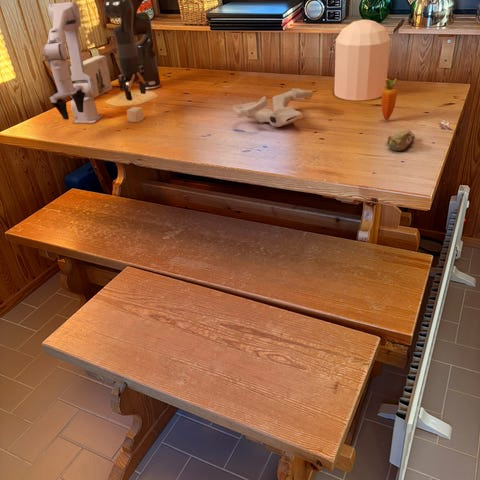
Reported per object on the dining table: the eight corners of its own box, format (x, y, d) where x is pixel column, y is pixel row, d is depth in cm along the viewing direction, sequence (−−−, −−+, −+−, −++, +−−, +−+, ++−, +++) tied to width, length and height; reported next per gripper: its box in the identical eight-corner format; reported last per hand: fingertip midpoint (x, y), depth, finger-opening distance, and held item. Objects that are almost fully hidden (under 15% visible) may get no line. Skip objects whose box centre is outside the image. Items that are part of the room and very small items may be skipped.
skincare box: (87, 102, 214) (77, 67, 204) (78, 102, 215) (68, 66, 206) (113, 88, 229) (105, 54, 220) (104, 88, 231) (96, 54, 222)
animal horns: (230, 133, 167) (227, 101, 161) (244, 110, 188) (241, 81, 182) (308, 133, 161) (308, 99, 155) (313, 109, 182) (314, 78, 176)
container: (354, 104, 182) (359, 27, 166) (324, 91, 198) (325, 20, 182) (396, 93, 189) (404, 18, 173) (363, 81, 205) (368, 12, 189)
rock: (408, 140, 153) (379, 139, 152) (414, 122, 149) (384, 120, 148) (421, 154, 144) (391, 153, 143) (428, 135, 140) (396, 133, 139)
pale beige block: (128, 121, 188) (126, 110, 186) (135, 117, 192) (133, 106, 189) (137, 122, 186) (135, 111, 184) (144, 118, 190) (142, 107, 187)
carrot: (394, 118, 167) (398, 76, 158) (393, 123, 163) (397, 80, 154) (379, 117, 168) (383, 75, 160) (378, 122, 165) (382, 80, 156)
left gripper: (55, 85, 159) (67, 123, 167) (85, 73, 169) (95, 110, 177) (41, 84, 162) (53, 121, 170) (71, 72, 172) (81, 108, 180)
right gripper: (123, 60, 170) (132, 103, 180) (147, 50, 180) (154, 92, 190) (108, 59, 174) (118, 101, 183) (132, 49, 184) (140, 90, 193)
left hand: (73, 115), depth 173 cm, fingers open, 7 cm apart
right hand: (136, 96), depth 186 cm, fingers open, 8 cm apart
